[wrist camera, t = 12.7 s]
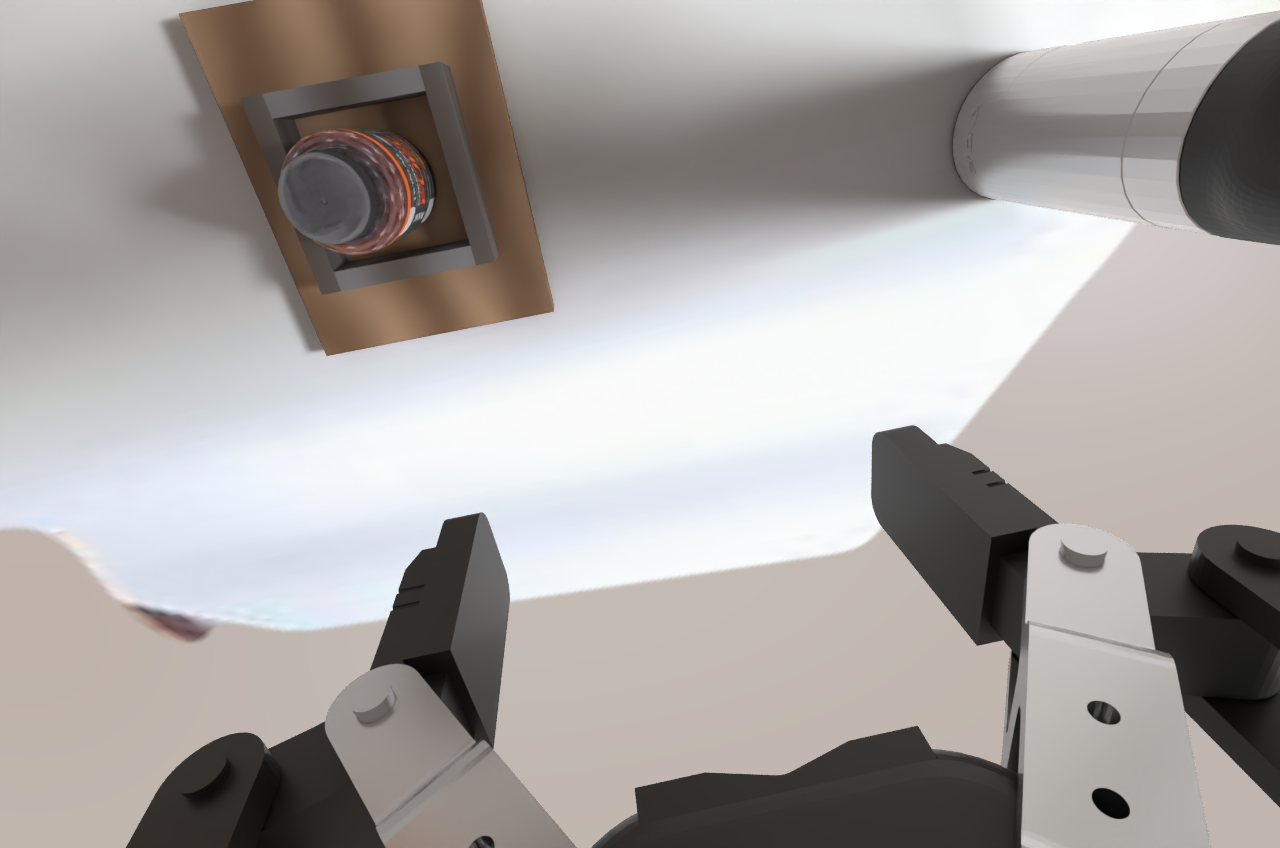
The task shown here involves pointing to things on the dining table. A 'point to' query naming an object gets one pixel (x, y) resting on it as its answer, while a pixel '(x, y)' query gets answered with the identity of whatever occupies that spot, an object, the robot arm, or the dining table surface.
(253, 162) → the socket plate
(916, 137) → the dining table surface
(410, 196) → the supplement bottle
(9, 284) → the dining table surface
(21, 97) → the dining table surface
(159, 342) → the dining table surface
